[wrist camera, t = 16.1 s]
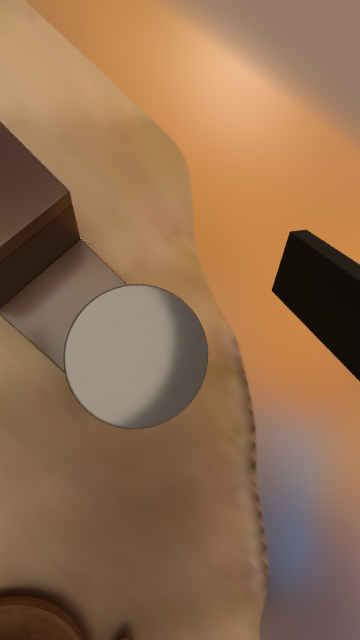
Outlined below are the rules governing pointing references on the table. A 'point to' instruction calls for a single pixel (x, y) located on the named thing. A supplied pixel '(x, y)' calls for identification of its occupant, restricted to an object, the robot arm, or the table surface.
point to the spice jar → (135, 356)
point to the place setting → (36, 620)
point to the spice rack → (42, 252)
